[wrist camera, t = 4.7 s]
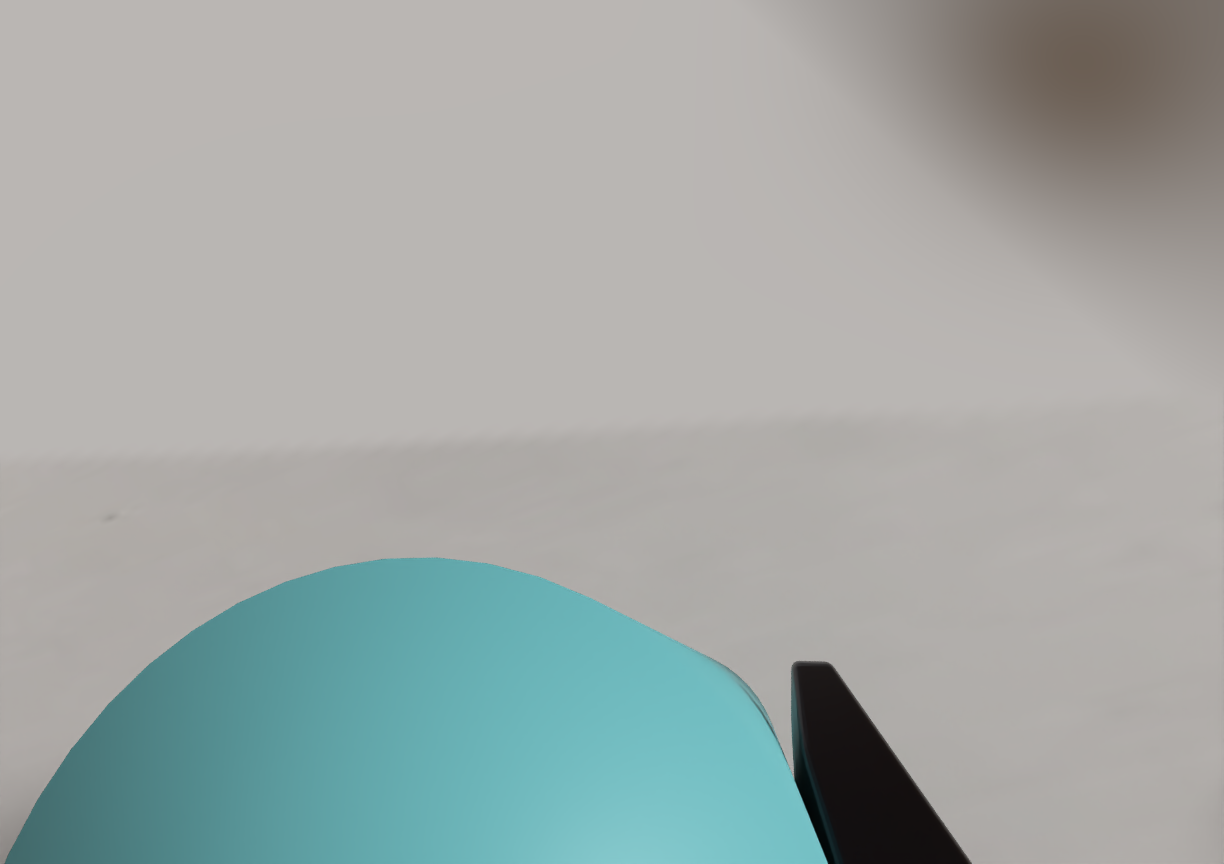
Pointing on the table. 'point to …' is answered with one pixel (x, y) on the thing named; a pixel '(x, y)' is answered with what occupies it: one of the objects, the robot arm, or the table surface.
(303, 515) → the table surface
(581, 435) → the table surface
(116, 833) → the dowel
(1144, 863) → the table surface
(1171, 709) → the table surface
